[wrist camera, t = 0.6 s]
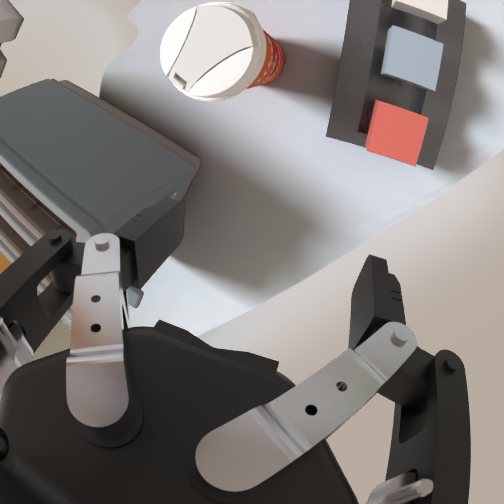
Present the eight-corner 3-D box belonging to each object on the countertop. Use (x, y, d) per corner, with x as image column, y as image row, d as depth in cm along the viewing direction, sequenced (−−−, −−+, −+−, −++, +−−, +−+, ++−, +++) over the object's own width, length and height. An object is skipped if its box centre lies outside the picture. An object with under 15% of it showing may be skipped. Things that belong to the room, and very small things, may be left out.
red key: (372, 98, 24) (379, 100, 20) (415, 112, 24) (428, 118, 19) (363, 139, 27) (367, 150, 23) (404, 152, 26) (415, 166, 22)
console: (353, -24, 20) (354, -36, 17) (454, 10, 18) (466, 3, 15) (327, 130, 31) (325, 136, 28) (424, 160, 29) (433, 170, 26)
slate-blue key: (384, 34, 20) (392, 25, 16) (427, 49, 20) (443, 44, 15) (377, 74, 23) (384, 72, 19) (420, 89, 22) (435, 91, 18)
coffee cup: (262, 107, 32) (209, 125, 20) (212, 65, 30) (136, 64, 18) (311, 57, 27) (288, 38, 15) (257, 15, 26) (199, -21, 14)
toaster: (182, 266, 49) (112, 357, 33) (46, 165, 46) (-35, 212, 30) (234, 174, 38) (145, 261, 21) (65, 74, 35) (-40, 103, 19)
